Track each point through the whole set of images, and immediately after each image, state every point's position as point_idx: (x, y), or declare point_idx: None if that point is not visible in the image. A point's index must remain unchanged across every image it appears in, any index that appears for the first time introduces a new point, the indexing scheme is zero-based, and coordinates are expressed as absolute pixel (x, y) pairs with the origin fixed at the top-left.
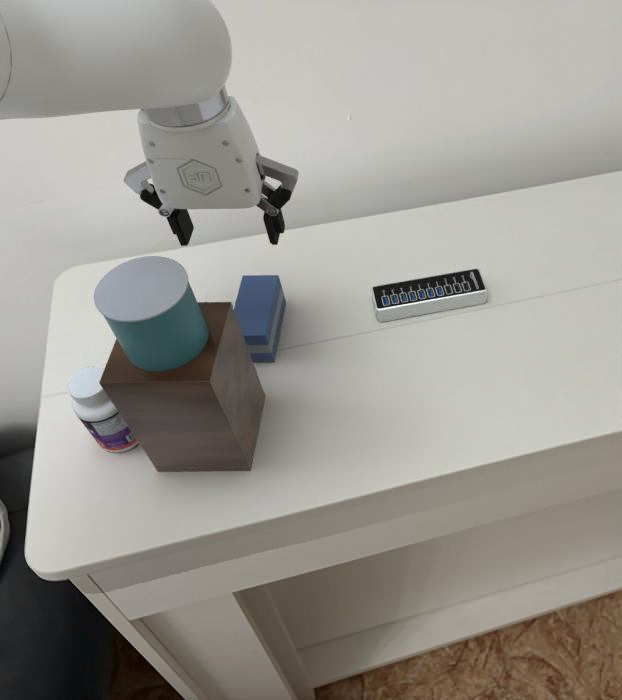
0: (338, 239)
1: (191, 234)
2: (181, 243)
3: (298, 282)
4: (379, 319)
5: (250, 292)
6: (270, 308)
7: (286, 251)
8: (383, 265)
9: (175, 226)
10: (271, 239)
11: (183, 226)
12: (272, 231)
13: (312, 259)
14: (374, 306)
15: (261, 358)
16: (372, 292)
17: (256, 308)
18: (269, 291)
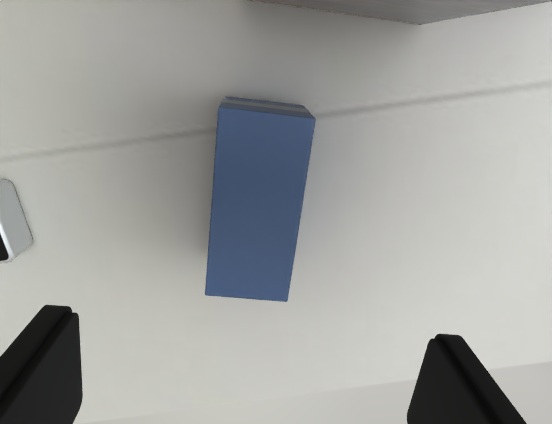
0: (126, 393)
1: (416, 387)
2: (460, 342)
3: (193, 300)
4: (2, 182)
5: (266, 250)
6: (214, 195)
7: (223, 373)
8: None
9: (510, 420)
10: (48, 324)
11: (462, 420)
12: (1, 358)
13: (171, 351)
14: (16, 217)
15: (250, 100)
16: (7, 244)
17: (248, 199)
18: (221, 248)
